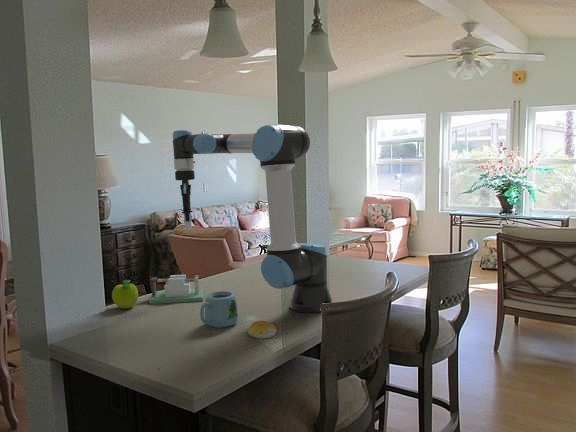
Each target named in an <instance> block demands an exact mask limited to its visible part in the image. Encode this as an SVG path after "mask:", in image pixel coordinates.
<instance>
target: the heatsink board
mask: <svg viewBox="0 0 576 432" xmlns="http://www.w3.org/2000/svg"><path fill="white" fill-rule="evenodd" d="M167 279H168V282H165V284H164V286H163V287H164V290H157V285H156V283H157V282H156V281H157V280H158V277H152V278H151V280H150V282H151V297H150V299H149V304H148V305H152V304H153V305H154V304H155V305H156V304H157V305H158V304H171V303H173V304H175V303H191V302H195V303H196V302H203V300H204V299H205V298H204V296H205V293H206V289H205V288H200V283H199V282H200V281H199V275H195V276H194V278H193V279H194V280H195V282H194V288H191V282H185V280H184V279H187V276H186V274H172V275H170V276H169V278H167Z"/></svg>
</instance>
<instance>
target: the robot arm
mask: <svg viewBox="0 0 576 432" xmlns="http://www.w3.org/2000/svg"><path fill="white" fill-rule="evenodd" d="M310 147H311V138H310V135H309V134H308V132H307V131H306V130H305V129H304V128H303V127H301V126H300V125H299V126H298V125H294V124H293V125H292V124H291V125H286V124H266V125H263V126H260V127H259V128H258V129H257V130H256V132H255V133H254V132H253V133H252V132H251V133H225V134H224V133H223V134H220V133H219V134H217V133H216V134H215V133H213V134H212V133H208V132H206V133H205V132H202V133H197V134H196V133H195V134H193V132H192V130H190V129H184V130H183V129H180V130H174V131H173V132H172V148H173V164H174V166H173V167H174V169H175V171H174V175H175V181H181V184H180V186H179V188H180V193H181V197H182V198H181V199H182V212H181V214H183V222H184V223H183V224H184V230H186V231H187V230H188V231H189V230H190V231H191V230H192V229H193V227H192V224H193V223H192V213H193V210H192V208H191V207H192V206H191V195H192V194H191V193H192V192H191V189H192V185H191V184H190V181H191V180H195V177H196V176H195V174H196V173H195V171H194V170H193V169H195V164H196V160H194V155H211V154H212V155H214V154H253V155H254V157H255V158H256V159H257V160H258V161H259V162H260V168H261V169H262V170H263V171H264V172H265V181H266V182H265V185H266V195H267V198H266V199H267V212H268V223H269V224H268V225H269V239H270V240H269V241H270V243H269V245H268V246H267V247H266V256H265V257H263V259H262V261H261V262H260V271H261V275H262V277H263V279H264V281H265V282H266V283H267V284H268V285H269V286H270V287H272V288H274V289H276V290H279V289H288V288H291V287H292V286H294V288H293V291H292V295H291V298H290V301H289V302H290V309H291V310H293V311H296V312H299V313H306V314H307V313H313V314H314V313H321V312H320V304H322V303H332V304H333V299H332V295H331V293H330V290H329V287H328V267H327V266H328V262H327V261H328V260H327V259H328V258H327V257H328V255H327V247H326V246H325V245H323V244H319V243H311V242H310V243H307V242H302V243H301V242H297V235H296V220H295V207H294V206H295V204H294V193H293V179H292V178H293V177H292V169H293V168H294V167H295V166H296V160H298V159H302V158H303V157H304V156H305V155H306V154H308V152H309V150H310Z"/></svg>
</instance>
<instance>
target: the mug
mask: <svg viewBox="0 0 576 432" xmlns="http://www.w3.org/2000/svg"><path fill="white" fill-rule="evenodd" d="M199 315H200V316H199V317H200V320H201V322H202V323H204V324H205V325H206V324H207V325H208V327H211V328H217V329H220V328H221V329H222V328H223V329H224V328H229V327H231V326H233V325H235V324H236V323H237V322H238V321H239V320H238V319H239V309H238V302H237V298H236V295H235V293H233V292H230V291H215V292H212V293H210V294H207V295H206V297H205V302H203V303H202V304H201V306H200V309H199Z"/></svg>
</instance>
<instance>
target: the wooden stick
mask: <svg viewBox="0 0 576 432" xmlns="http://www.w3.org/2000/svg"><path fill="white" fill-rule="evenodd" d="M168 279H169V278H157V280H156V281H157V282H156V283H166V282H168ZM184 280H185V282H190V283H195V280H194V278H186V279H184Z"/></svg>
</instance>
